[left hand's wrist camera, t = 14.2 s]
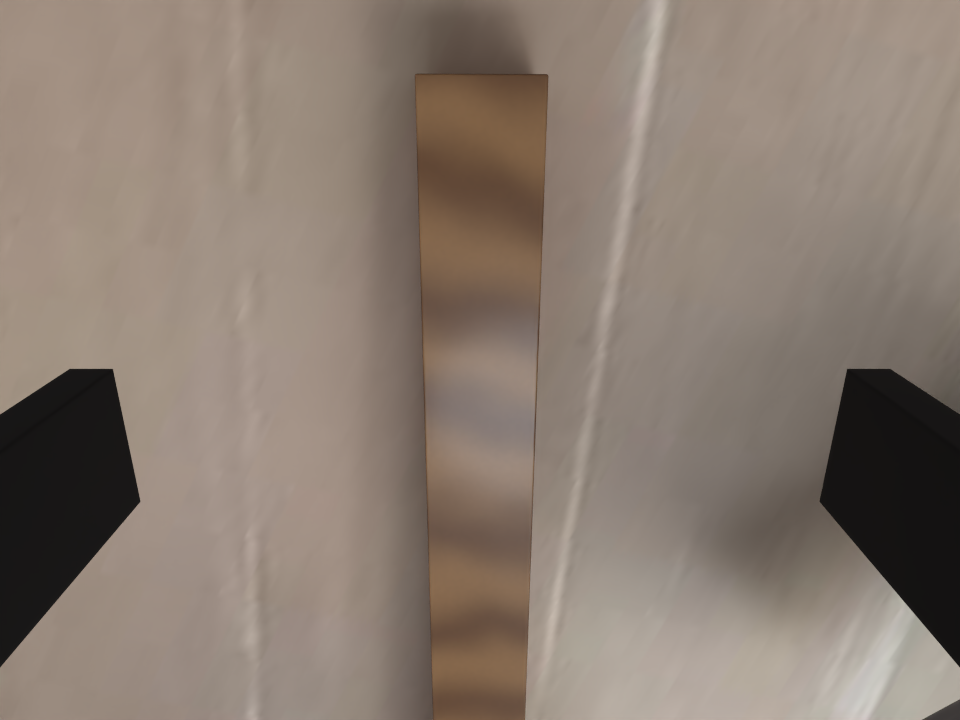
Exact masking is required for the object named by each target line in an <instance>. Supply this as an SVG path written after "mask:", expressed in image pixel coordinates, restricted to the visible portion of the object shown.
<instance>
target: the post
mask: <svg viewBox="0 0 960 720" xmlns="http://www.w3.org/2000/svg"><path fill="white" fill-rule="evenodd" d="M415 96H416V131H417V167H418V202H419V237H420V273H421V308H422V343H423V378H424V414H425V449H426V484H427V520H428V555H429V590H430V626H431V661H432V696H433V720H525V702H526V675H527V648H528V620H529V593H530V565H531V538H532V510H533V483H534V456H535V428H536V401H537V373H538V346H539V318H540V291H541V264H542V236H543V209H544V181H545V154H546V127H547V99H548V75H547V74H415Z"/></svg>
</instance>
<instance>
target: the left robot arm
mask: <svg viewBox="0 0 960 720" xmlns="http://www.w3.org/2000/svg"><path fill="white" fill-rule="evenodd" d="M139 503H140V497H139V493H138V488H137V483H136V478H135V473H134V469H133V464H132V459H131V454H130V449H129V445H128V440H127V435H126V430H125V425H124V421H123V416H122V411H121V406H120V402H119V397H118V392H117V387H116V382H115V378H114V373H113V369H69V370H68V371H66V372H65V373H63V374H61V375H60V376H58V377H57V378H55V379H54V380H52V381H51V382H49V383H48V384H46V385H45V386H43V387H42V388H40V389H39V390H37V391H36V392H34V393H32V394H31V395H29V396H28V397H26V398H25V399H23V400H22V401H20V402H19V403H17V404H16V405H14V406H13V407H11V408H10V409H8V410H7V411H5V412H3V413H2V414H0V667H1V666H2V664H3V663H4V662H5V661H6V660H7V659H8V657H9V656H10V655H11V654H12V653H13V651H14V650H15V649H16V648H17V647H18V646H19V644H20V643H21V642H22V641H23V640H24V638H25V637H26V636H27V635H28V634H29V633H30V631H31V630H32V629H33V628H34V627H35V625H36V624H37V623H38V622H39V621H40V620H41V618H42V617H43V616H44V615H45V614H46V612H47V611H48V610H49V609H50V608H51V607H52V605H53V604H54V603H55V602H56V601H57V599H58V598H59V597H60V596H61V595H62V594H63V592H64V591H65V590H66V589H67V588H68V586H69V585H70V584H71V583H72V582H73V581H74V579H75V578H76V577H77V576H78V575H79V573H80V572H81V571H82V570H83V569H84V568H85V566H86V565H87V564H88V563H89V562H90V560H91V559H92V558H93V557H94V556H95V555H96V553H97V552H98V551H99V550H100V549H101V547H102V546H103V545H104V544H105V543H106V542H107V540H108V539H109V538H110V537H111V536H112V535H113V533H114V532H115V531H116V530H117V529H118V527H119V526H120V525H121V524H122V523H123V522H124V520H125V519H126V518H127V517H128V516H129V514H130V513H131V512H132V511H133V510H134V509H135V507H136V506H137V505H138V504H139ZM820 503H821V504H822V505H823V506H824V507H825V509H826V510H827V511H828V512H829V513H830V514H831V516H832V517H833V518H834V519H835V520H836V522H837V523H838V524H839V525H840V526H841V527H842V529H843V530H844V531H845V532H846V533H847V535H848V536H849V537H850V538H851V539H852V540H853V542H854V543H855V544H856V545H857V546H858V547H859V549H860V550H861V551H862V552H863V553H864V555H865V556H866V557H867V558H868V559H869V560H870V562H871V563H872V564H873V565H874V566H875V568H876V569H877V570H878V571H879V572H880V573H881V575H882V576H883V577H884V578H885V579H886V581H887V582H888V583H889V584H890V585H891V586H892V588H893V589H894V590H895V591H896V592H897V594H898V595H899V596H900V597H901V598H902V599H903V601H904V602H905V603H906V604H907V605H908V607H909V608H910V609H911V610H912V611H913V612H914V614H915V615H916V616H917V617H918V618H919V620H920V621H921V622H922V623H923V624H924V625H925V627H926V628H927V629H928V630H929V631H930V633H931V634H932V635H933V636H934V637H935V638H936V640H937V641H938V642H939V643H940V644H941V646H942V647H943V648H944V649H945V650H946V651H947V653H948V654H949V655H950V656H951V657H952V659H953V660H954V661H955V662H956V663H957V664H958V666H959V667H960V414H958V413H957V412H955V411H953V410H952V409H950V408H949V407H947V406H946V405H944V404H943V403H941V402H940V401H938V400H937V399H935V398H934V397H932V396H931V395H929V394H928V393H926V392H924V391H923V390H921V389H920V388H918V387H917V386H915V385H914V384H912V383H911V382H909V381H908V380H906V379H905V378H903V377H902V376H900V375H899V374H897V373H895V372H894V371H892V370H891V369H847V373H846V378H845V382H844V387H843V392H842V397H841V402H840V406H839V411H838V416H837V421H836V425H835V430H834V435H833V440H832V445H831V449H830V454H829V459H828V464H827V469H826V473H825V478H824V483H823V488H822V493H821V497H820ZM923 720H960V700H958V701H956V702H954V703H952V704H950V705H949V706H947V707H945V708H943V709H941V710H939V711H937V712H936V713H934V714H932V715H930V716H928V717H926V718H925V719H923Z"/></svg>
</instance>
